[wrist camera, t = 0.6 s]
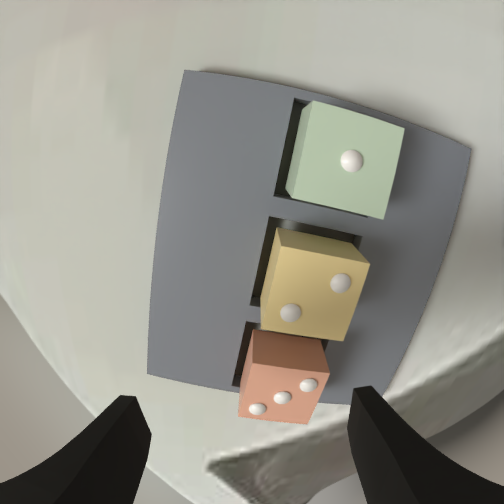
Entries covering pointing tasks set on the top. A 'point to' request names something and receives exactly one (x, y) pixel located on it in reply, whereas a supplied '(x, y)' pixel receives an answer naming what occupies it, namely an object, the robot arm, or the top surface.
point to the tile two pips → (311, 285)
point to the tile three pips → (282, 377)
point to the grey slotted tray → (269, 204)
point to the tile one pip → (344, 159)
